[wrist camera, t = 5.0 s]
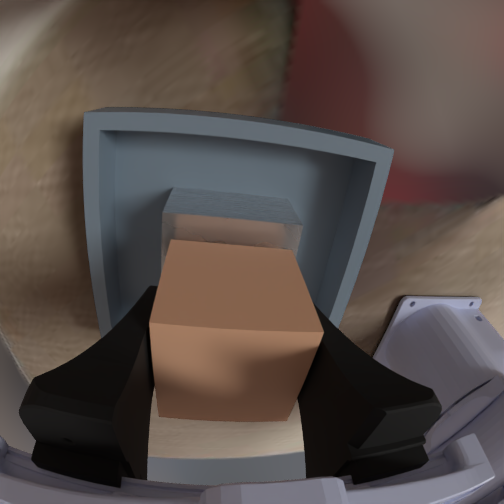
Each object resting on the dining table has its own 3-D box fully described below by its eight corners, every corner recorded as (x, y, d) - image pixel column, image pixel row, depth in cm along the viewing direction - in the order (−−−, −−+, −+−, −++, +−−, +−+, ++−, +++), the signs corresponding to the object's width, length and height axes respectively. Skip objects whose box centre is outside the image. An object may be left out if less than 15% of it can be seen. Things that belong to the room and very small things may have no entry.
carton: (292, 249, 14) (323, 332, 9) (270, 337, 16) (286, 420, 12) (170, 239, 13) (149, 322, 8) (170, 330, 15) (159, 416, 11)
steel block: (287, 198, 17) (303, 225, 14) (268, 292, 20) (277, 330, 17) (173, 187, 16) (162, 212, 13) (169, 284, 19) (162, 322, 16)
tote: (368, 138, 16) (394, 149, 14) (312, 335, 23) (322, 365, 20) (106, 107, 14) (83, 112, 11) (114, 322, 21) (104, 353, 18)
